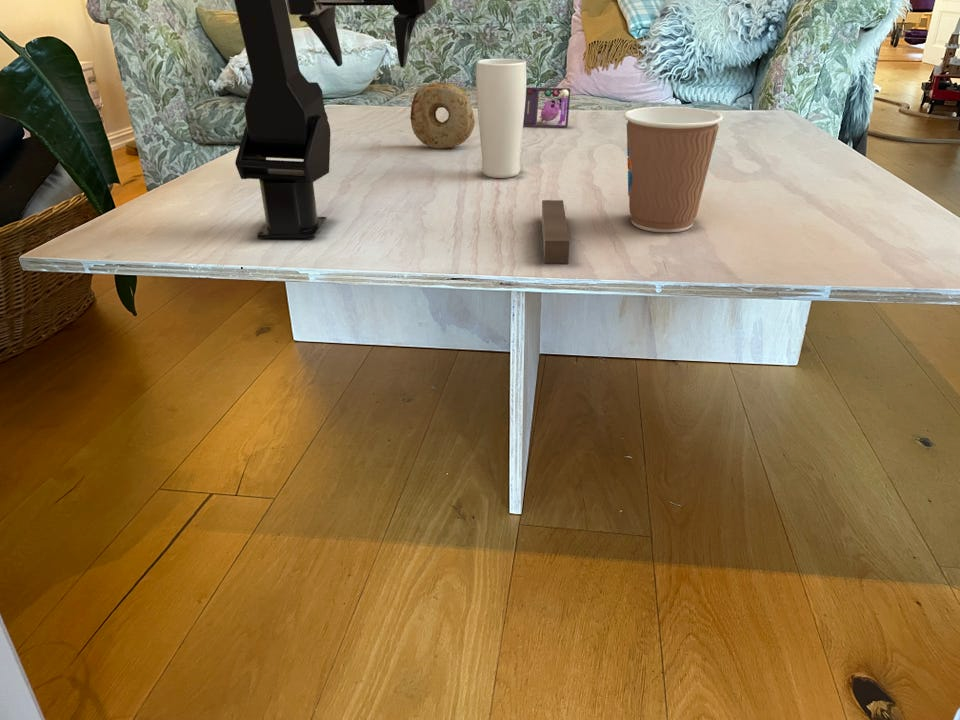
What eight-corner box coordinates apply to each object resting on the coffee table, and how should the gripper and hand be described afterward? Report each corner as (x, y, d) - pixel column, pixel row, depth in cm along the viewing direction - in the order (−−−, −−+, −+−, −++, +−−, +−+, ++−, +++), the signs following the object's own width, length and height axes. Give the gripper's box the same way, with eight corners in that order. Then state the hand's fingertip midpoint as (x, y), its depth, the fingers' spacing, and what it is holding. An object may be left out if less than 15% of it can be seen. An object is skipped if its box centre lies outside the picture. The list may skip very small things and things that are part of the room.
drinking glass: (521, 181, 101) (522, 64, 94) (472, 179, 102) (470, 64, 95) (528, 169, 107) (530, 58, 100) (482, 167, 108) (481, 58, 101)
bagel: (408, 149, 120) (404, 84, 115) (415, 144, 123) (412, 80, 118) (470, 151, 118) (469, 85, 113) (476, 146, 121) (475, 82, 116)
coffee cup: (643, 205, 91) (652, 103, 85) (723, 220, 85) (739, 112, 79) (599, 226, 84) (606, 116, 78) (683, 244, 78) (697, 127, 72)
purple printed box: (520, 86, 133) (569, 87, 131) (524, 92, 138) (572, 93, 136) (517, 125, 134) (566, 126, 132) (522, 129, 139) (569, 131, 137)
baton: (568, 263, 74) (569, 240, 73) (544, 263, 74) (545, 240, 73) (562, 220, 86) (563, 200, 85) (541, 220, 86) (542, 200, 85)
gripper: (442, -78, 95) (452, 48, 105) (308, -75, 99) (330, 47, 109) (416, -61, 87) (430, 75, 96) (271, -57, 91) (299, 72, 100)
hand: (371, 66), depth 101 cm, fingers open, 9 cm apart
